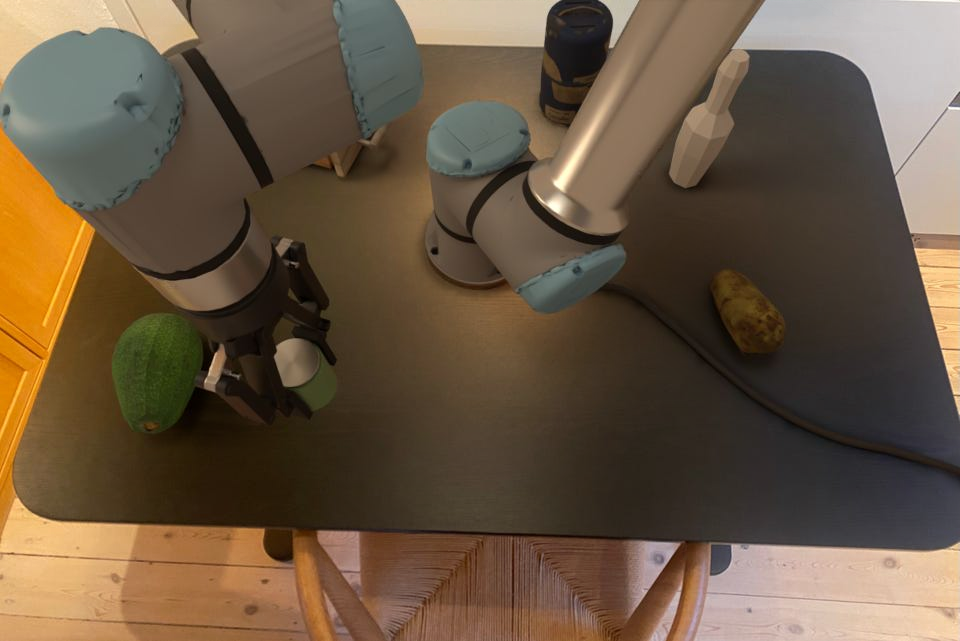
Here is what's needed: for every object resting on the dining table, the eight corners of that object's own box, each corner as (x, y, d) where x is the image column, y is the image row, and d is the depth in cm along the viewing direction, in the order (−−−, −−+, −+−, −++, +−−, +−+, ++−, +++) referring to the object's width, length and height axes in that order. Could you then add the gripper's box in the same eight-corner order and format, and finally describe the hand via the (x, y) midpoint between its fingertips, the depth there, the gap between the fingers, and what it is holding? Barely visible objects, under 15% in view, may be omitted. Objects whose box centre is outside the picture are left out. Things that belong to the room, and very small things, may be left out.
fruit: (203, 442, 74) (164, 417, 65) (122, 443, 74) (72, 419, 65) (223, 331, 81) (191, 295, 72) (149, 333, 81) (107, 297, 72)
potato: (765, 286, 84) (791, 255, 77) (769, 372, 78) (798, 347, 71) (704, 278, 84) (724, 246, 77) (704, 362, 79) (726, 336, 72)
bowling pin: (655, 172, 93) (701, 51, 73) (684, 153, 95) (737, 30, 75) (685, 199, 91) (741, 81, 71) (714, 178, 92) (777, 58, 73)
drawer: (402, 131, 96) (396, 93, 89) (374, 185, 91) (365, 149, 84) (298, 104, 98) (284, 65, 91) (265, 155, 94) (247, 118, 87)
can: (345, 370, 61) (330, 344, 56) (324, 417, 59) (306, 396, 53) (299, 356, 62) (279, 329, 56) (276, 402, 60) (254, 379, 54)
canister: (591, 133, 97) (613, 35, 80) (533, 124, 97) (542, 25, 81) (598, 90, 101) (620, -11, 85) (542, 82, 102) (553, -19, 86)
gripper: (231, 148, 44) (315, 298, 65) (88, 372, 36) (235, 461, 57) (325, 172, 43) (380, 317, 64) (198, 408, 35) (307, 485, 56)
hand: (311, 385), depth 60 cm, fingers closed on can, 5 cm apart
